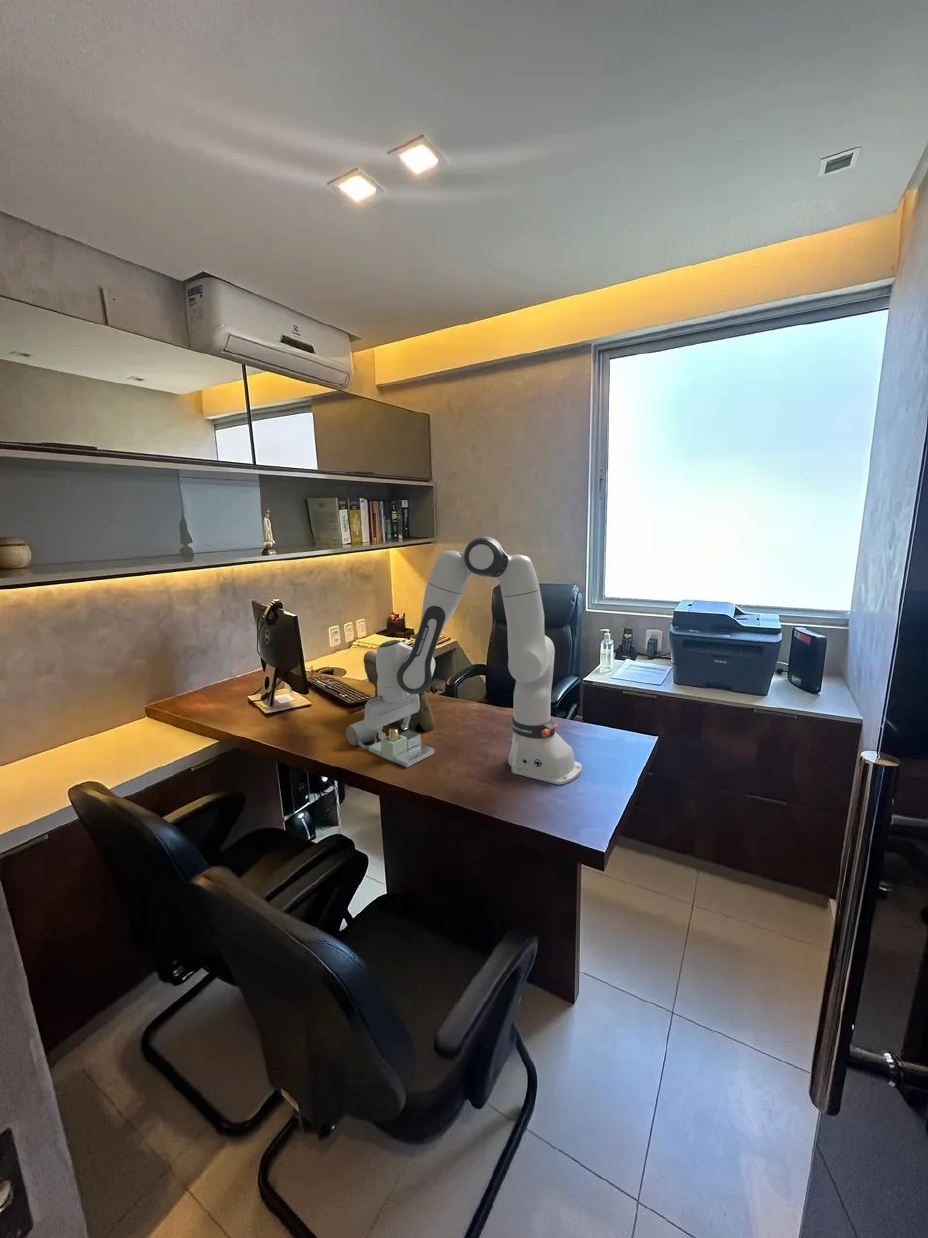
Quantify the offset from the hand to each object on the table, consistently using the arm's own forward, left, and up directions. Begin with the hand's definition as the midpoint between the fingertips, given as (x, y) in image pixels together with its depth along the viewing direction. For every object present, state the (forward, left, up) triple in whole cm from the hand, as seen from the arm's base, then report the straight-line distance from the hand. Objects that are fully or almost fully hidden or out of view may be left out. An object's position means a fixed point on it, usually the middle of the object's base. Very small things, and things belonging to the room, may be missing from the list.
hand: (393, 733), depth 154 cm
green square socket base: (+3, -3, -8) cm, 9 cm away
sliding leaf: (-3, -3, -7) cm, 9 cm away
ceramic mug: (+15, +1, -8) cm, 17 cm away
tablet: (+21, -20, -8) cm, 30 cm away
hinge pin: (0, 0, -8) cm, 8 cm away
